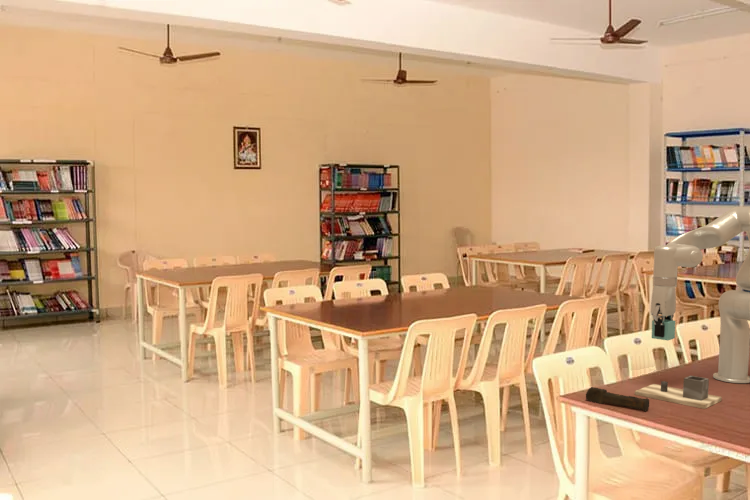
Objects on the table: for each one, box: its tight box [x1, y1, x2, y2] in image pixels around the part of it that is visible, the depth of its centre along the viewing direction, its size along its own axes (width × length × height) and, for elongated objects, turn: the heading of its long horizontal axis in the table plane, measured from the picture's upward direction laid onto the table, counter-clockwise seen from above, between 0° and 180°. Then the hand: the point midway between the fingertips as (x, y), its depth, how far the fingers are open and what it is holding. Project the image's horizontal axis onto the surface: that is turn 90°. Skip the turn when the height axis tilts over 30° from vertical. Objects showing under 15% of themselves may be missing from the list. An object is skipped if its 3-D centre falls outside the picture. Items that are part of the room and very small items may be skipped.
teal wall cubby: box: [651, 319, 676, 341], centre depth 254 cm, size 6×6×6 cm
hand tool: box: [585, 386, 650, 413], centre depth 228 cm, size 19×4×5 cm, turn 52°
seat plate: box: [634, 375, 723, 410], centre depth 239 cm, size 14×22×7 cm, turn 46°
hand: (663, 334), depth 254 cm, fingers closed on teal wall cubby, 5 cm apart
